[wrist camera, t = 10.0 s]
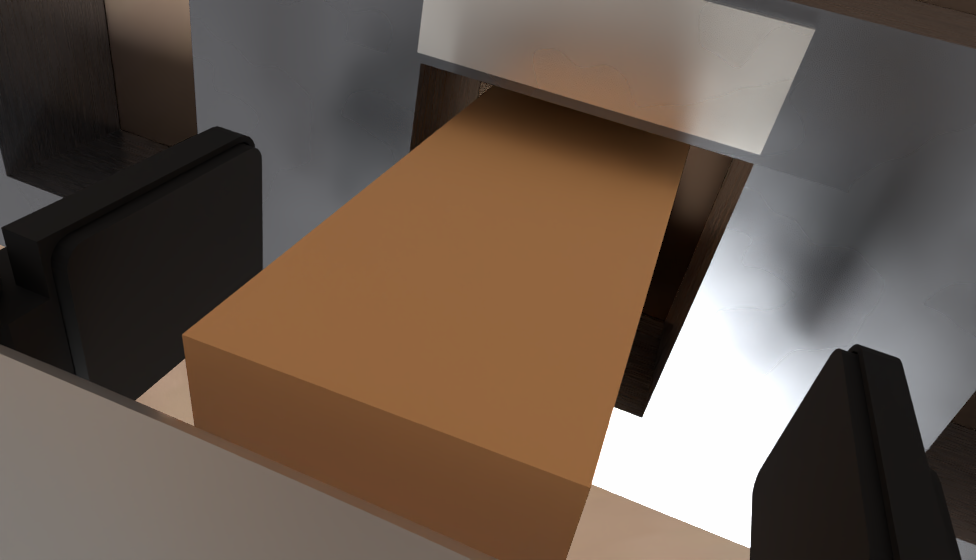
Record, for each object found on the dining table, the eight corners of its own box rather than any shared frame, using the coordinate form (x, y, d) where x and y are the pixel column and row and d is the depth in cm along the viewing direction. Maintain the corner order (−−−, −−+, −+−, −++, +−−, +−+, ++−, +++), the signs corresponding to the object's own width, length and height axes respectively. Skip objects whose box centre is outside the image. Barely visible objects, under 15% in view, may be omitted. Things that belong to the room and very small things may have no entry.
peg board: (1785, 216, 9) (2253, 381, 6) (1218, 607, 15) (1328, 791, 12) (-45, -239, 15) (-244, -263, 12) (40, 167, 21) (-82, 218, 18)
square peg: (697, 120, 14) (591, 487, 6) (643, 283, 16) (512, 714, 8) (509, 72, 15) (182, 334, 6) (483, 234, 17) (215, 579, 9)
